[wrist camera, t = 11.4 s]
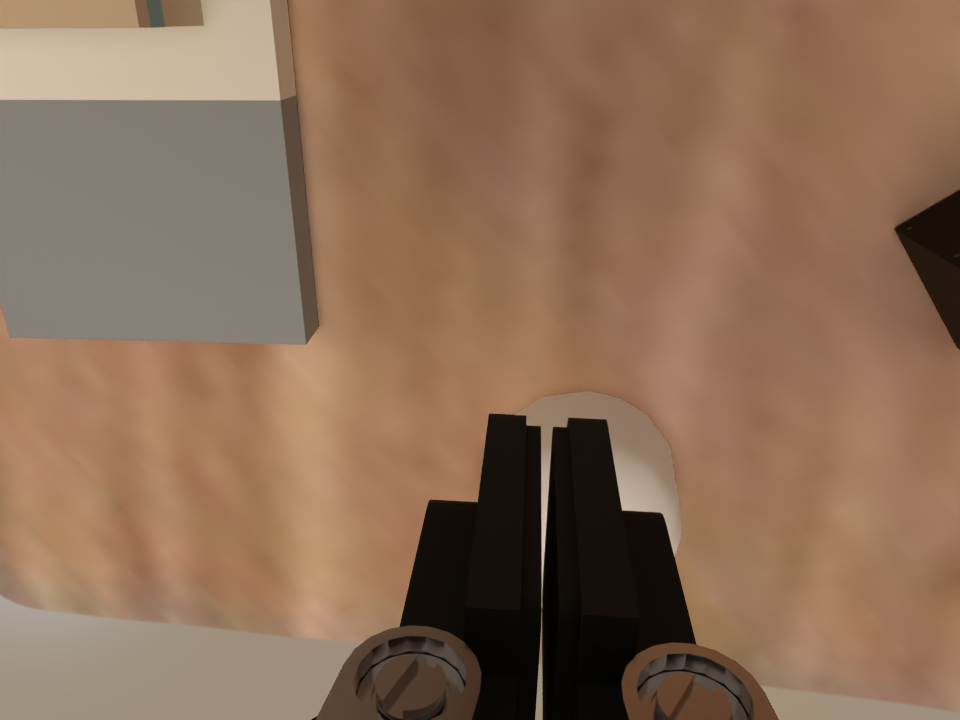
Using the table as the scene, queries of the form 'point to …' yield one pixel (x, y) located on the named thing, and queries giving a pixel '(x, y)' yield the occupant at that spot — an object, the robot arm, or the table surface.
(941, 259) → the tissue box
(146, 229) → the grey and cream slab
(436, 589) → the robot arm
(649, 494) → the teardrop
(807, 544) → the table surface
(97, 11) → the carton
